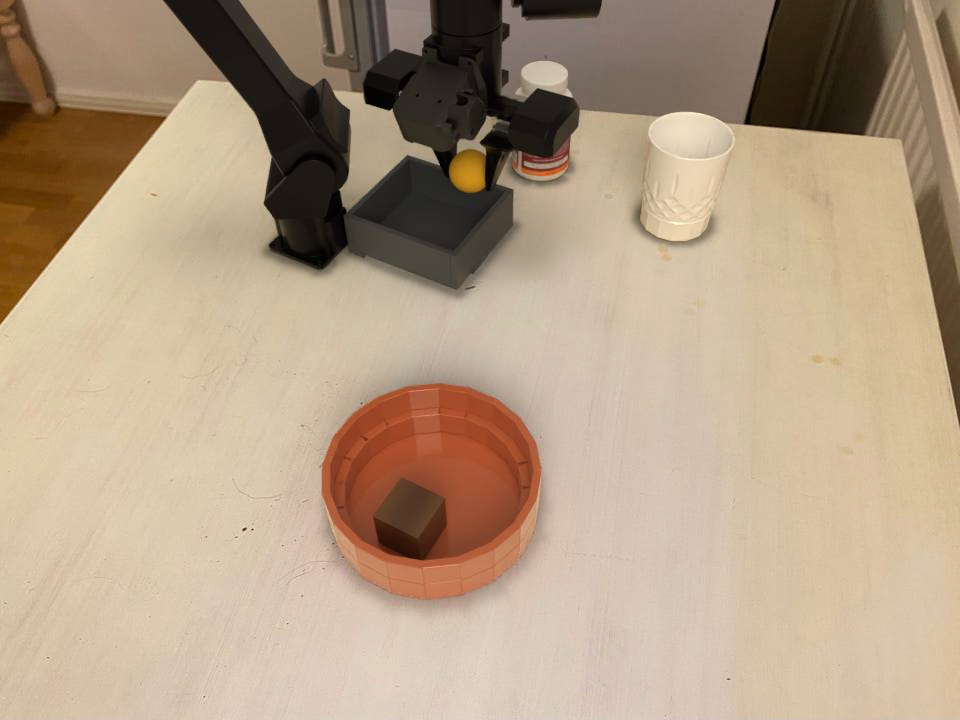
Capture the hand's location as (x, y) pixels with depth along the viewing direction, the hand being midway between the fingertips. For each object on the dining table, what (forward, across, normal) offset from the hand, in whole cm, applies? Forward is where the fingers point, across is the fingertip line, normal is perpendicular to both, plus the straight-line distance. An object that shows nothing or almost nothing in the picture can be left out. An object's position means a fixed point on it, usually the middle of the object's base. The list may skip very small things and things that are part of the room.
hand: (470, 182), depth 76 cm
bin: (+6, -3, -2) cm, 7 cm away
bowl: (+6, +13, -29) cm, 32 cm away
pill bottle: (+6, +1, +14) cm, 15 cm away
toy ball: (+1, 0, 0) cm, 1 cm away
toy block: (+6, +13, -32) cm, 35 cm away
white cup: (+6, +17, +11) cm, 21 cm away
